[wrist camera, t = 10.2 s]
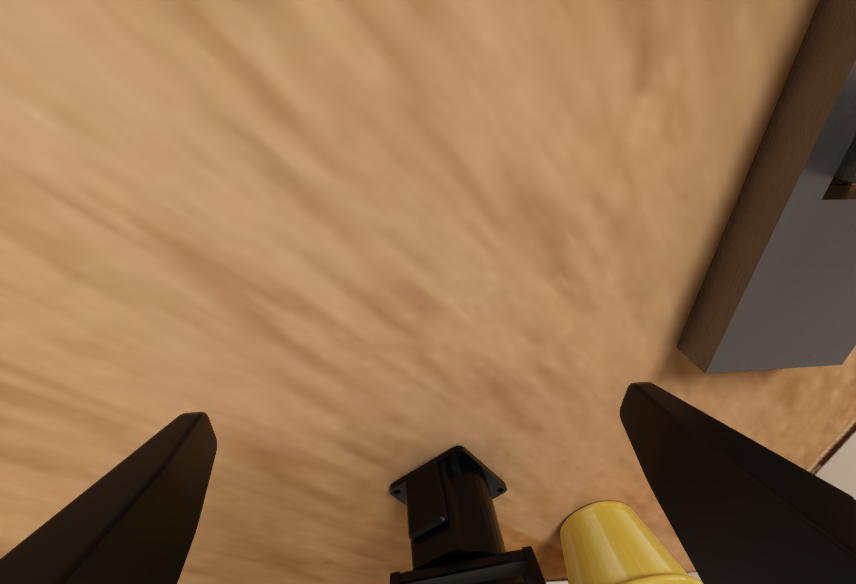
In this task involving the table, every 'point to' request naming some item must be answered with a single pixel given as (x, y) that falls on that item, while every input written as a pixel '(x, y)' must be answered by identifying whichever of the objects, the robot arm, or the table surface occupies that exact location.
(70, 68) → the table surface
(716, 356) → the rack rail
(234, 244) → the table surface
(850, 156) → the grey-capped square peg
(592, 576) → the plant pot
